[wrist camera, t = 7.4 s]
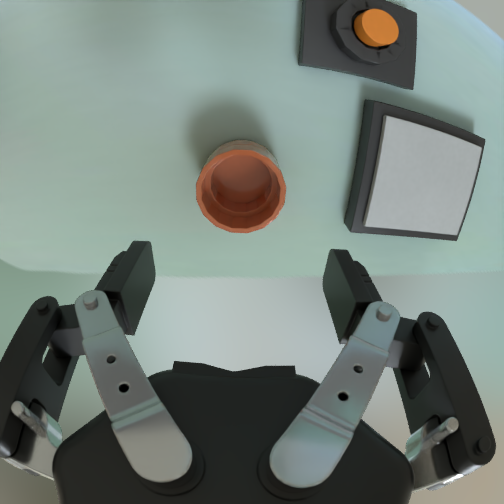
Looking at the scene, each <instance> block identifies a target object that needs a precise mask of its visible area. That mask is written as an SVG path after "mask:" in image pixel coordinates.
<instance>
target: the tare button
mask: <svg viewBox="0 0 504 504" xmlns="http://www.w3.org/2000/svg"><path fill="white" fill-rule="evenodd" d="M354 31H355V33H356V35H357V36H358V38H359V39H360V40H361V41H362V42H364V43H365V44H367V45H369V46H373V47H379V46H383V45H388V44H391V43H393V42H395V41H396V39H397V37H398V34H399V30H398V26H397V23H396V21H395V20H394V19H393V17H392V16H391V15H389V14H388V13H387V12H385V11H383V10H380V9H370V10H367V11H365V12H364V13H362V14H360V15H359V16H357V17H356V19H355V20H354Z"/></svg>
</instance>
